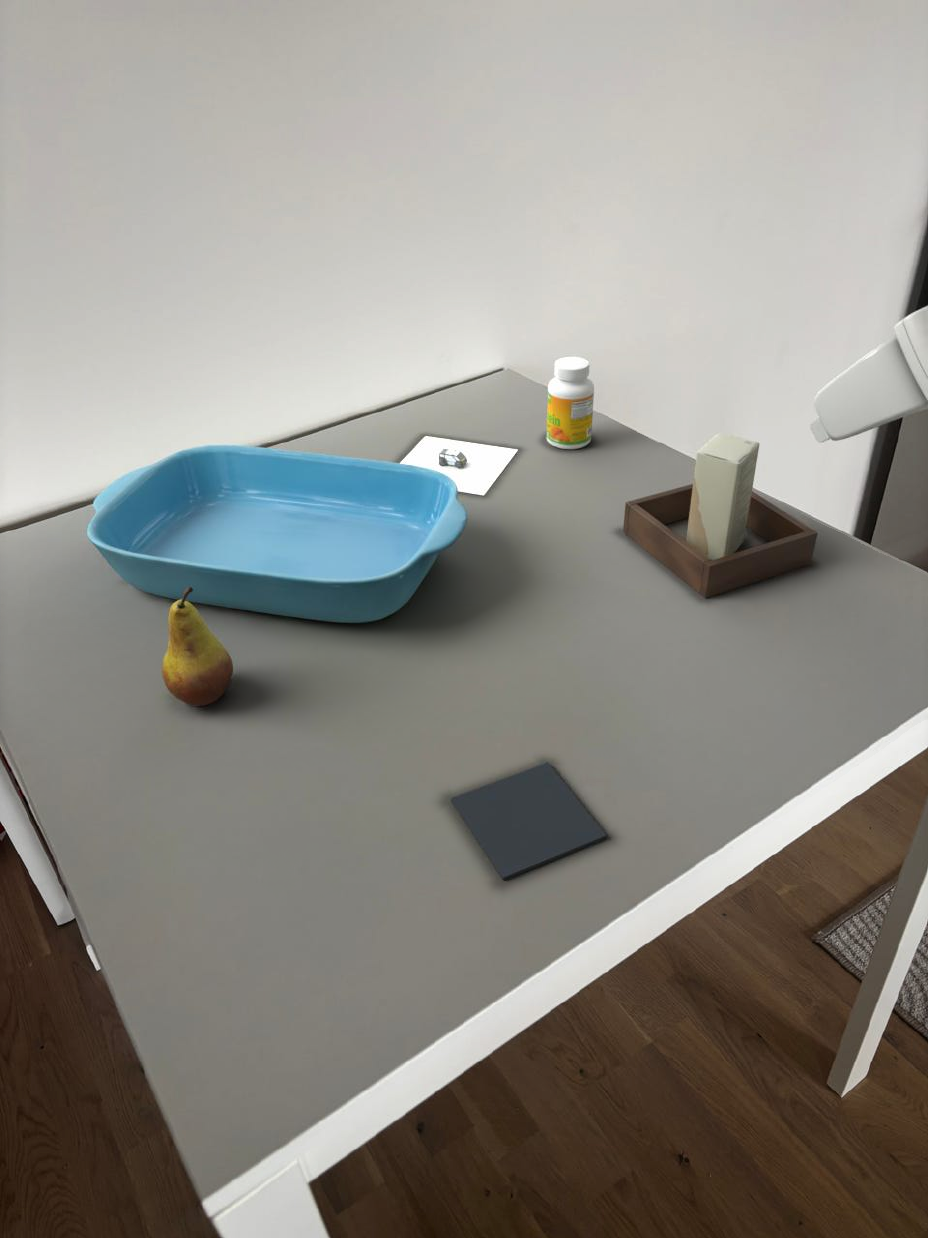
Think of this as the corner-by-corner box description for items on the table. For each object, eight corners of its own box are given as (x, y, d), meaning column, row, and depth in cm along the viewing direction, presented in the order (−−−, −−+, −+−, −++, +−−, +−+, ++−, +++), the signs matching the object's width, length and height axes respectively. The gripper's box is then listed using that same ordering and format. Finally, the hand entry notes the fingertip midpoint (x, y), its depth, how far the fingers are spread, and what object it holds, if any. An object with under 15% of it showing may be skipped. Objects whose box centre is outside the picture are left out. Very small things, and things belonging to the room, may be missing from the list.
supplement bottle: (538, 436, 118) (540, 358, 113) (577, 427, 120) (581, 351, 114) (559, 453, 114) (562, 374, 109) (599, 444, 116) (604, 366, 110)
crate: (811, 564, 94) (818, 532, 92) (705, 598, 89) (709, 566, 87) (721, 503, 104) (726, 474, 102) (622, 532, 99) (625, 501, 97)
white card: (483, 495, 106) (483, 483, 105) (384, 479, 110) (383, 467, 109) (518, 449, 115) (518, 437, 114) (425, 436, 119) (424, 424, 118)
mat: (606, 838, 66) (606, 835, 66) (503, 880, 64) (503, 878, 63) (547, 764, 72) (548, 761, 72) (450, 801, 69) (450, 798, 69)
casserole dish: (56, 600, 91) (35, 535, 87) (177, 491, 109) (164, 432, 105) (427, 663, 82) (423, 593, 78) (495, 532, 100) (495, 470, 96)
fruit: (244, 672, 82) (220, 551, 75) (230, 717, 77) (203, 593, 70) (178, 673, 82) (148, 552, 75) (161, 718, 77) (127, 594, 70)
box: (705, 530, 99) (719, 430, 93) (745, 542, 97) (762, 440, 91) (682, 552, 96) (695, 450, 89) (723, 565, 94) (739, 462, 87)
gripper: (1077, 260, 70) (925, 353, 82) (892, 318, 61) (753, 412, 73) (1117, 338, 69) (958, 419, 82) (936, 408, 61) (789, 487, 73)
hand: (859, 416), depth 78 cm, fingers open, 8 cm apart
